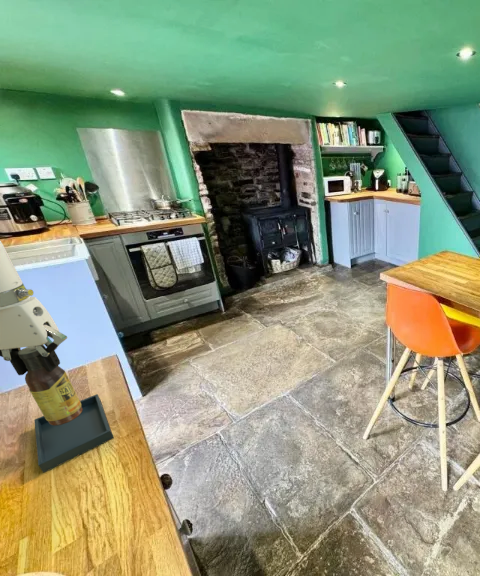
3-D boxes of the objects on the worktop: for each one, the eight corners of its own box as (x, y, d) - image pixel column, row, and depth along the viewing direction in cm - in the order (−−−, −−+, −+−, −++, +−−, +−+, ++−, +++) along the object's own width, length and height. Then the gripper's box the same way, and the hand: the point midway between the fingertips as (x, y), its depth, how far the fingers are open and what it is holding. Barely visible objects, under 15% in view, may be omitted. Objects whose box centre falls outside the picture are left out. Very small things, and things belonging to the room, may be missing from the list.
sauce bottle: (81, 419, 73) (46, 352, 65) (45, 431, 70) (3, 362, 62) (86, 402, 78) (54, 338, 70) (52, 412, 75) (15, 346, 67)
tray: (38, 426, 77) (34, 419, 76) (100, 400, 86) (97, 393, 85) (43, 472, 67) (38, 465, 66) (113, 437, 75) (110, 430, 74)
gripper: (63, 286, 66) (94, 354, 73) (-38, 293, 62) (6, 364, 69) (38, 301, 59) (75, 374, 67) (-77, 310, 55) (-24, 387, 63)
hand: (40, 368), depth 68 cm, fingers closed on sauce bottle, 4 cm apart
